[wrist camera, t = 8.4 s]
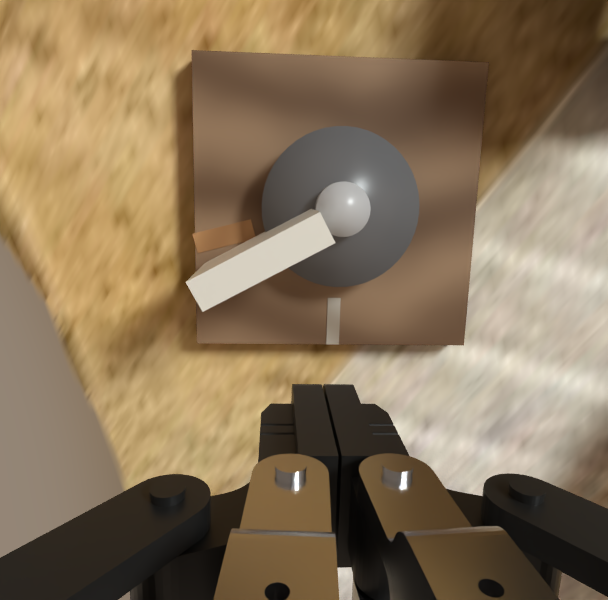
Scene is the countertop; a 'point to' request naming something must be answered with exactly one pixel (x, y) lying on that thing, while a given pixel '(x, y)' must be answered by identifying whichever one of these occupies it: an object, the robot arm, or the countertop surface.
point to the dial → (323, 217)
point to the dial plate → (321, 114)
